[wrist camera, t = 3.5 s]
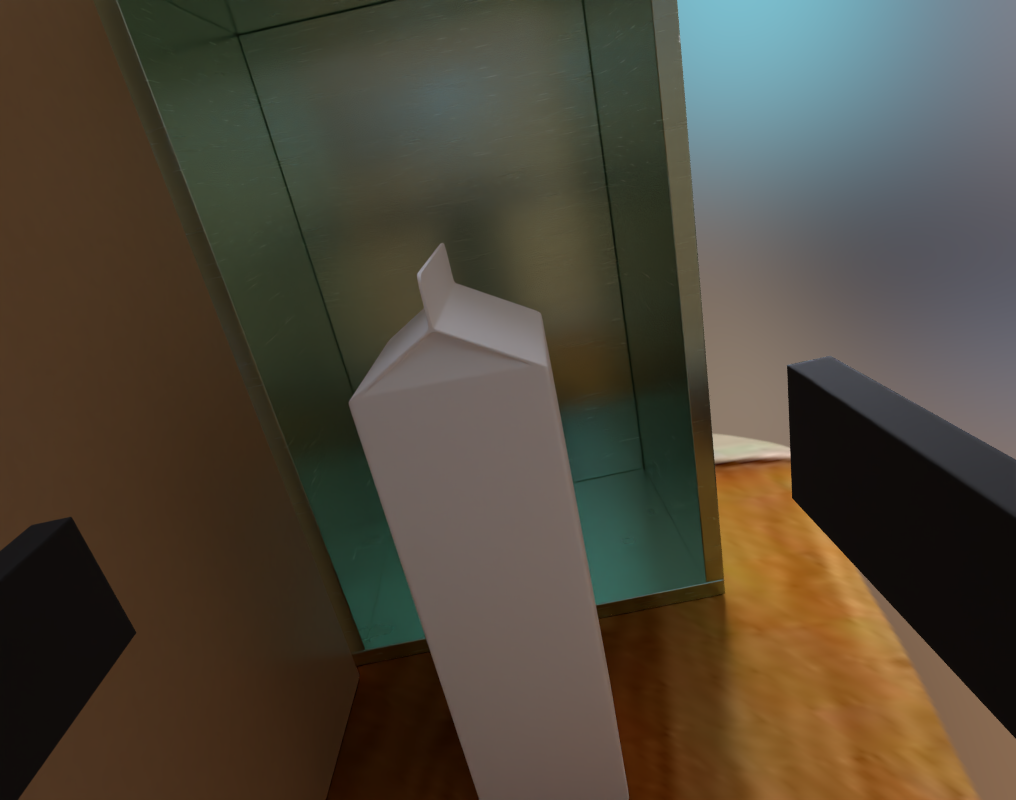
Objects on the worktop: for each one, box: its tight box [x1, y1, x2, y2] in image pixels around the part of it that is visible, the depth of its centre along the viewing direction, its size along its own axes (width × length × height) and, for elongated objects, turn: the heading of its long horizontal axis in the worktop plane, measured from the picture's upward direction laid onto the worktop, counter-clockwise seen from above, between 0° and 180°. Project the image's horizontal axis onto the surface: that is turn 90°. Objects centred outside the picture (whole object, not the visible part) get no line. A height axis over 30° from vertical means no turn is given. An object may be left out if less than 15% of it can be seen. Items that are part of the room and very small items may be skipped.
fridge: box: [93, 0, 725, 666], centre depth 34 cm, size 14×21×34 cm, turn 93°
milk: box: [349, 243, 629, 800], centre depth 23 cm, size 6×6×22 cm
